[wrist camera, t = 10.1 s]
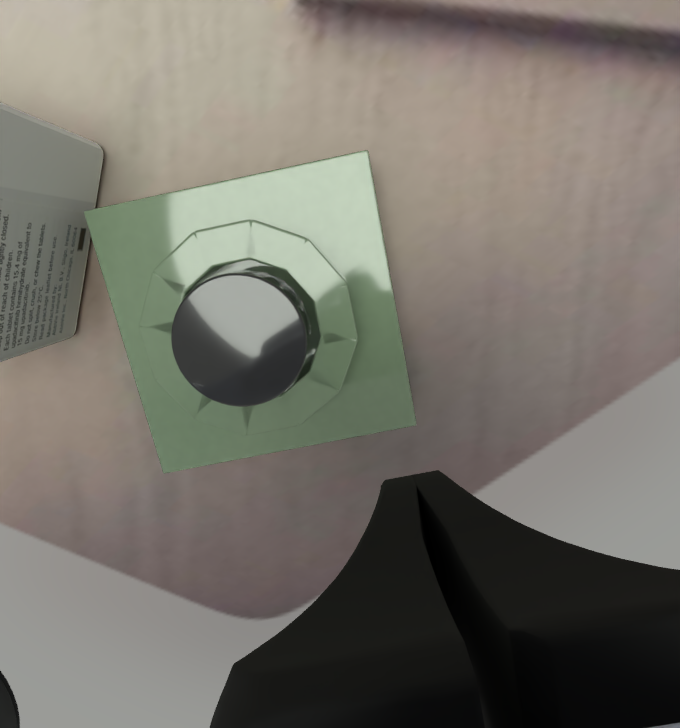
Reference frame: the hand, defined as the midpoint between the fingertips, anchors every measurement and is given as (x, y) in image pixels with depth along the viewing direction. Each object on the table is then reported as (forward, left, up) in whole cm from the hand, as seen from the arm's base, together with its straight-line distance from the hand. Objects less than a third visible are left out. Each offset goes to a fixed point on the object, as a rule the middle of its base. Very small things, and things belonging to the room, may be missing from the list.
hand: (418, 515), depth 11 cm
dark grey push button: (+4, +4, -6) cm, 8 cm away
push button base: (+4, +4, -10) cm, 12 cm away
